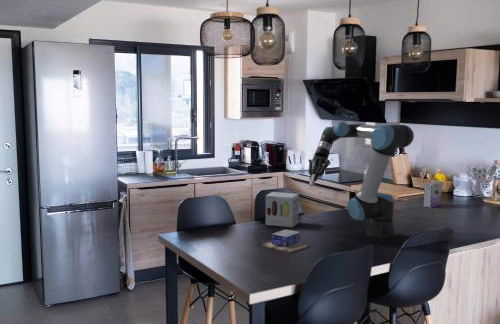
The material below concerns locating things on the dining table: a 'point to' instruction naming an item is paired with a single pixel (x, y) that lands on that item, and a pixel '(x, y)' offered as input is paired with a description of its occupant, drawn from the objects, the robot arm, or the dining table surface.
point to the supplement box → (282, 209)
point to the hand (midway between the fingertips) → (311, 185)
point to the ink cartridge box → (285, 237)
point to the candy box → (432, 194)
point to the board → (286, 249)
